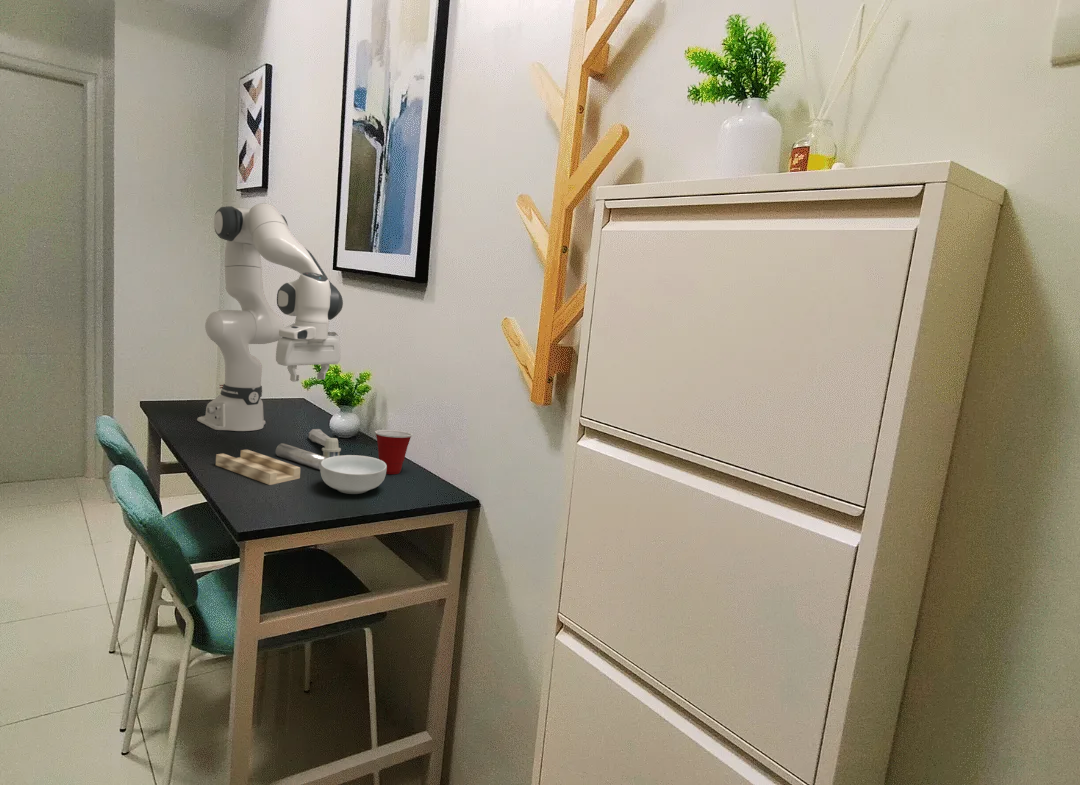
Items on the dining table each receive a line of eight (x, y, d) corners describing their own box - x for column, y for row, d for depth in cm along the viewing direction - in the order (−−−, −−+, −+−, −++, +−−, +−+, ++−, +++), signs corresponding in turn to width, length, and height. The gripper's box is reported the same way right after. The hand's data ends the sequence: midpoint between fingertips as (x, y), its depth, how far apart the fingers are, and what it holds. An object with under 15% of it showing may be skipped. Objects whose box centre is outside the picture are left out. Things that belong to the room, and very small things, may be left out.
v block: (215, 465, 180) (216, 454, 180) (246, 459, 188) (246, 449, 188) (269, 485, 170) (270, 473, 169) (299, 478, 178) (300, 467, 177)
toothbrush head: (322, 428, 220) (343, 436, 199) (321, 448, 220) (342, 458, 199) (306, 428, 217) (325, 436, 196) (305, 448, 218) (325, 458, 197)
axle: (275, 457, 194) (276, 444, 194) (286, 455, 198) (287, 442, 197) (318, 472, 186) (319, 458, 185) (329, 469, 189) (330, 456, 189)
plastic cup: (408, 467, 200) (412, 428, 199) (409, 477, 190) (413, 437, 188) (371, 465, 198) (375, 425, 196) (370, 475, 188) (374, 434, 186)
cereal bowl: (310, 481, 176) (312, 456, 175) (370, 477, 186) (372, 453, 185) (330, 502, 163) (333, 474, 162) (394, 497, 172) (397, 470, 171)
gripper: (331, 330, 197) (328, 376, 199) (273, 329, 179) (270, 380, 181) (347, 333, 194) (343, 380, 196) (289, 332, 176) (286, 384, 178)
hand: (308, 380), depth 188 cm, fingers open, 8 cm apart
